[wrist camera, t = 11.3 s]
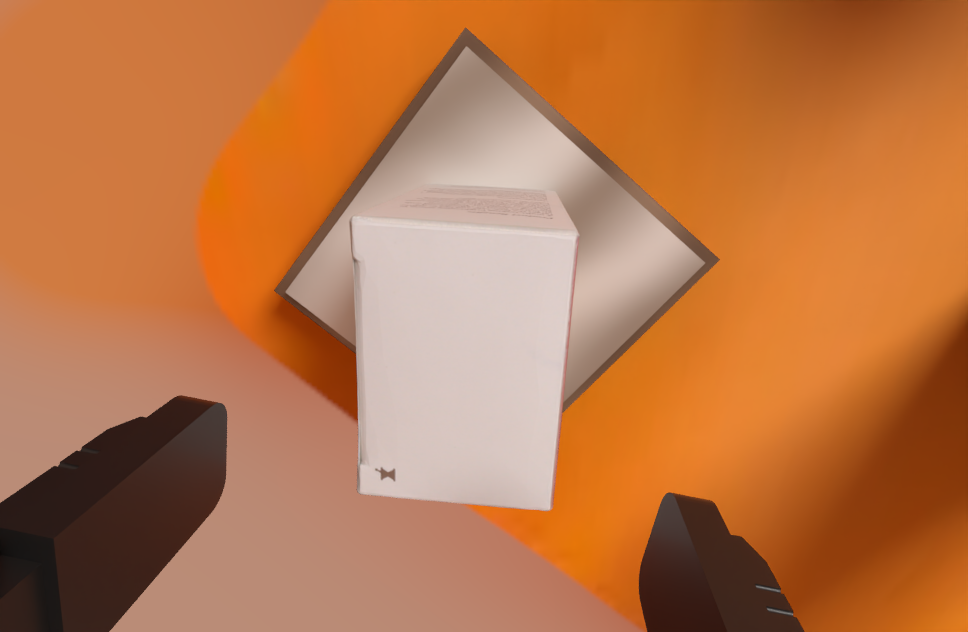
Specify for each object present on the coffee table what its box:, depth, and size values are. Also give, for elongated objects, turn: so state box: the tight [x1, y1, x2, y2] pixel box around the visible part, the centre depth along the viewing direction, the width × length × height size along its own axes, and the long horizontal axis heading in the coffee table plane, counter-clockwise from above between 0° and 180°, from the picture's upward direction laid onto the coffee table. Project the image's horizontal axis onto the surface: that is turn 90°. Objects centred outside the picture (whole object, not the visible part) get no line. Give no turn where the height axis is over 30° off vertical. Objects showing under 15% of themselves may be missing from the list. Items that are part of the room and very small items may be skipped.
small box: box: [349, 184, 580, 511], centre depth 19 cm, size 8×6×10 cm
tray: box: [274, 28, 720, 413], centre depth 25 cm, size 14×14×3 cm
